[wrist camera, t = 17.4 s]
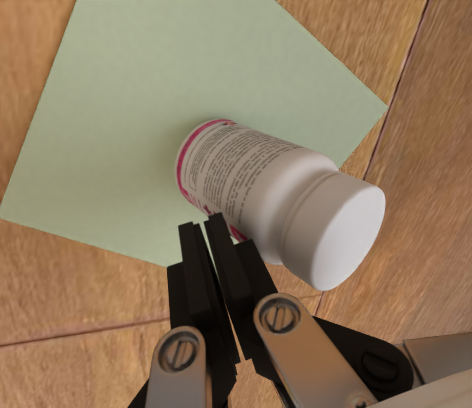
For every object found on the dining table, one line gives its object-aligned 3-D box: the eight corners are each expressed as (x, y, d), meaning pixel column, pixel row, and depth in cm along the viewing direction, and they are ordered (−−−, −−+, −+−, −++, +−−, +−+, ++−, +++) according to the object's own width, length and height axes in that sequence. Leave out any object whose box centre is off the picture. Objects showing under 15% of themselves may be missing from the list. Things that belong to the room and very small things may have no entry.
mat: (0, 211, 16) (-5, 217, 15) (128, -133, 10) (127, -140, 10) (239, 283, 23) (241, 289, 23) (383, 105, 18) (389, 107, 17)
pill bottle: (158, 198, 14) (280, 310, 9) (190, 102, 13) (353, 157, 8) (229, 208, 18) (351, 295, 12) (259, 133, 17) (409, 186, 11)
